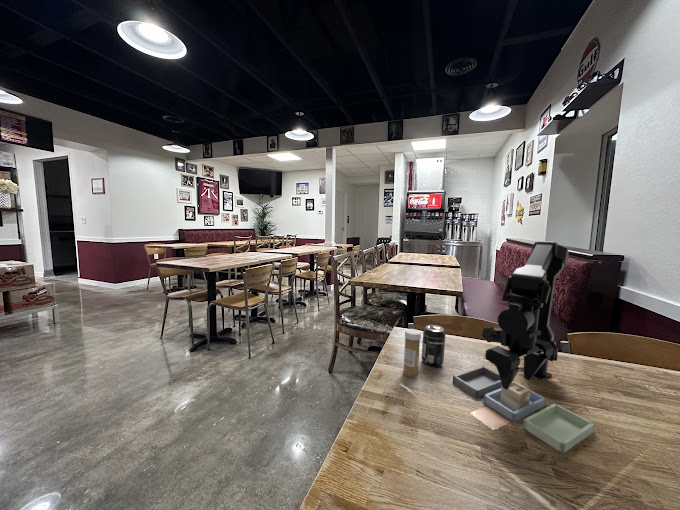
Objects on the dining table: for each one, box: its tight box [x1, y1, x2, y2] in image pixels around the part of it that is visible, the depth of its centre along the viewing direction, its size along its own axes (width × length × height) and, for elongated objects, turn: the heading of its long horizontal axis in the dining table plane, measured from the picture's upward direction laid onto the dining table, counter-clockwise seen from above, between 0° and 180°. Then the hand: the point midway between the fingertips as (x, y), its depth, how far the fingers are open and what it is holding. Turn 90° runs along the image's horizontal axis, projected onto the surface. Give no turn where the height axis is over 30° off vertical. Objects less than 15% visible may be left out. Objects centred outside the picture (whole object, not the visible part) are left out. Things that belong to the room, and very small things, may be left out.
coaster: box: [469, 405, 511, 432], centre depth 63 cm, size 6×6×1 cm
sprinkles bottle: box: [402, 328, 422, 378], centre depth 81 cm, size 5×5×13 cm
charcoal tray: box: [452, 365, 502, 398], centre depth 76 cm, size 13×8×2 cm, turn 117°
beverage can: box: [421, 324, 446, 368], centre depth 88 cm, size 7×7×12 cm
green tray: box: [522, 403, 596, 455], centre depth 60 cm, size 13×8×2 cm, turn 117°
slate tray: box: [483, 388, 547, 423], centre depth 68 cm, size 13×8×2 cm, turn 117°
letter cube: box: [500, 380, 532, 410], centre depth 68 cm, size 4×4×5 cm
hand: (516, 383), depth 68 cm, fingers open, 9 cm apart
